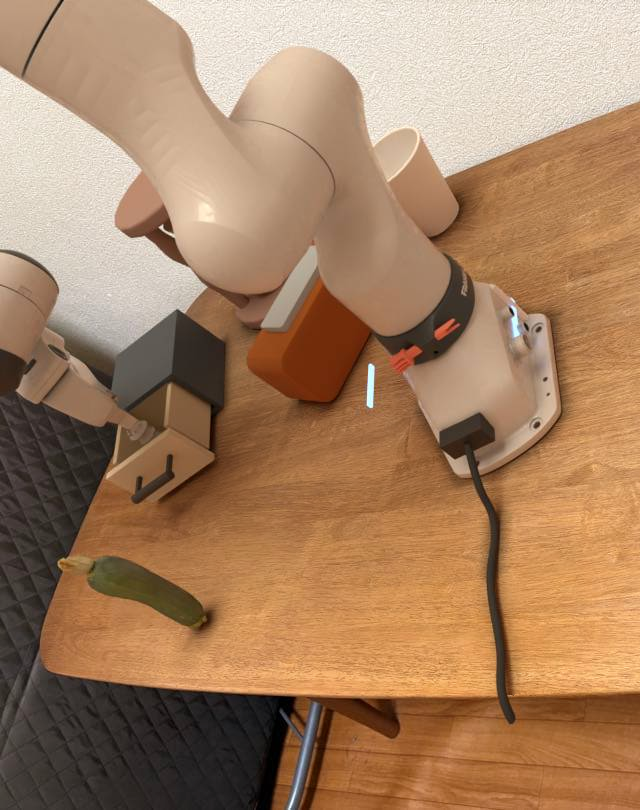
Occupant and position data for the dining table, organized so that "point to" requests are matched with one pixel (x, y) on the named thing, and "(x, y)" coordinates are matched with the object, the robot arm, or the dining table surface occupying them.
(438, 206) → the cup
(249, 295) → the hourglass
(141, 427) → the rook chess piece
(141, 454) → the drawer
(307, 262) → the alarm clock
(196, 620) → the vegetable
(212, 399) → the cabinet
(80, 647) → the dining table surface
